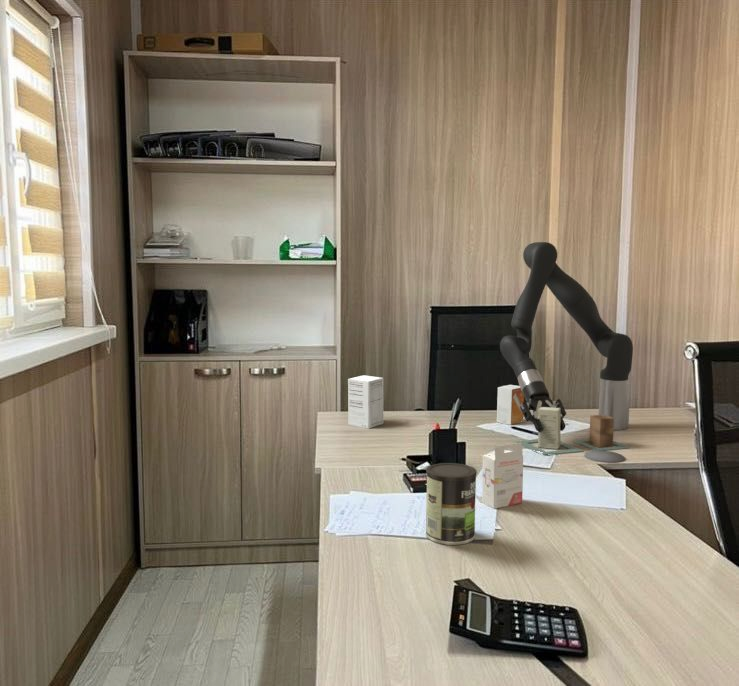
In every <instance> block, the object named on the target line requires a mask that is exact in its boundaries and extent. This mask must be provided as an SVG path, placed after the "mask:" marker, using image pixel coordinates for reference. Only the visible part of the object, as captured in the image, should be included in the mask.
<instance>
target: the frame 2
mask: <svg viewBox="0 0 739 686" xmlns="http://www.w3.org/2000/svg"><path fill="white" fill-rule="evenodd" d="M572 442H573V443H575V444H577V445H579V446H582V447H585V448H587V449H589V450H591V451H616V450H628V449H629V450H630V448H631V447H630V446H627V445H625V444H622V443H620V442H616V441H614V440H613V446H611V447H600V448H599V447H597V446H594V445H591V444H589V438H588V439H580V440H578V439H577V440H573V441H572Z"/></svg>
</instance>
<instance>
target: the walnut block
mask: <svg viewBox="0 0 739 686" xmlns="http://www.w3.org/2000/svg"><path fill="white" fill-rule="evenodd" d="M589 418H590V419H589V421H590V422H589V438H588V439H589V442H588V444H589V445H592V446H594V447H597V448H606V447H614V445H613V441H614V431H615V430H614V418H612V417H609V416H606V415H599V414H598V415H596V414H594V415H590V417H589Z"/></svg>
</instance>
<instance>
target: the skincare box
mask: <svg viewBox="0 0 739 686" xmlns="http://www.w3.org/2000/svg"><path fill="white" fill-rule="evenodd" d="M538 419H539V420H540V422H541V424H542V427H543V431H542V432H538V431H537V434H538V435H537V439H538V443H537V444H538V447H537V448H540V449H544V448H545V449H555V450H559V448H560V447H561V446H560V441H561V431H560V425H561V408H551V407H541V408H539V409H538Z"/></svg>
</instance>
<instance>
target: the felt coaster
mask: <svg viewBox="0 0 739 686" xmlns="http://www.w3.org/2000/svg"><path fill="white" fill-rule="evenodd" d="M584 457H585V458H586V459H587V460H590V461H593V462H599V463H606V464H607V463H608V464H615V463H621V462H624V461H625V456H624V455H623V454H620V453H619V452H618V453H617V452H614V451H611V450H608V451H594V450H587V451H586V452H584Z"/></svg>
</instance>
